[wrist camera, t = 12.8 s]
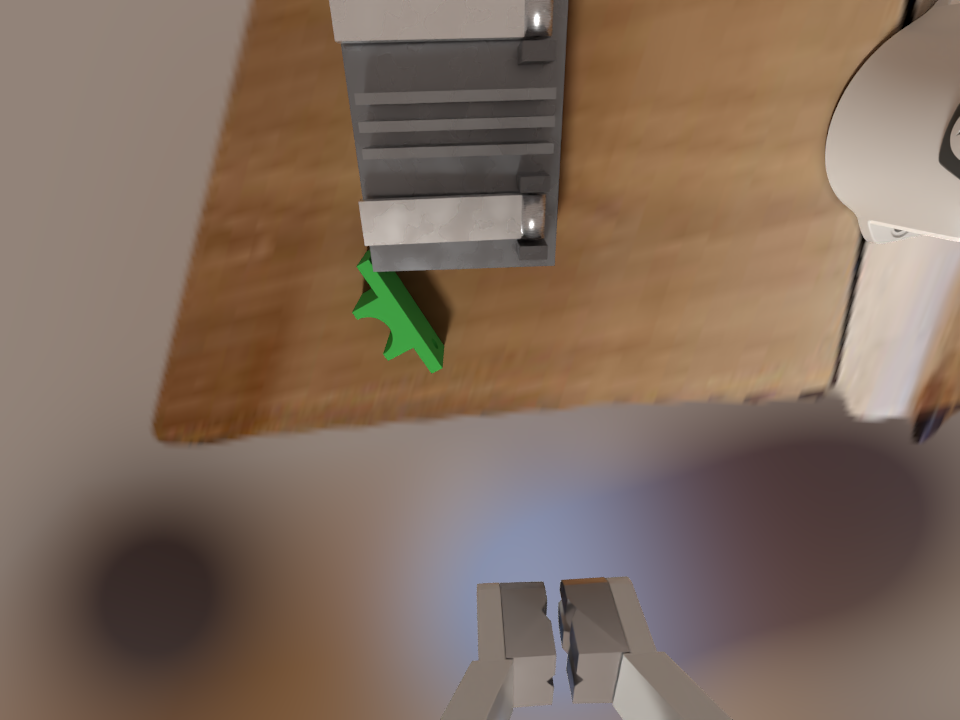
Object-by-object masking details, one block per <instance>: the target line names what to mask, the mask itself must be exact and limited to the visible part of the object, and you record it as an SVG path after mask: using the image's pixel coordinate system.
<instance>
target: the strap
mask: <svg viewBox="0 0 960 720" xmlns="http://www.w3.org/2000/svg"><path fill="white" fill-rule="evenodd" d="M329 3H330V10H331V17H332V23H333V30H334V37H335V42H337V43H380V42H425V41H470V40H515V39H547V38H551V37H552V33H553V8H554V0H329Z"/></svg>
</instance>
